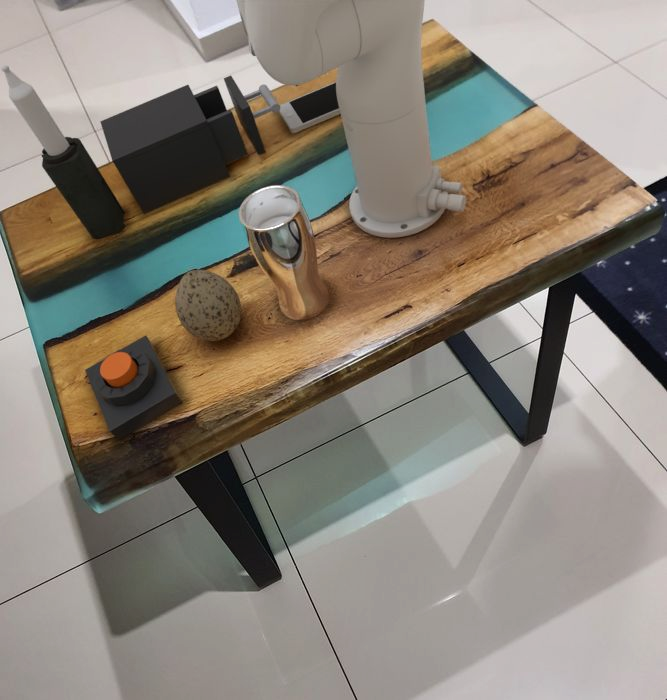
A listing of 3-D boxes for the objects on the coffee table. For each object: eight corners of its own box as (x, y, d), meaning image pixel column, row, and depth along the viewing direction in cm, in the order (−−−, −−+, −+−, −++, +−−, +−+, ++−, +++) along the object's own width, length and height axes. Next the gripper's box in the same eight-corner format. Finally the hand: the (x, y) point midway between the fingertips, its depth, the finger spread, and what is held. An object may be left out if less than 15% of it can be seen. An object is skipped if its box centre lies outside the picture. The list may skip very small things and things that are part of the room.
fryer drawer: (272, 110, 100) (258, 63, 94) (293, 141, 95) (278, 93, 89) (172, 152, 99) (151, 108, 93) (187, 186, 94) (165, 142, 87)
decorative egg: (237, 297, 80) (208, 240, 72) (259, 334, 76) (231, 278, 68) (185, 325, 79) (150, 270, 71) (205, 364, 75) (170, 311, 67)
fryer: (211, 139, 101) (188, 84, 93) (230, 176, 94) (206, 120, 87) (130, 174, 100) (100, 121, 92) (143, 214, 93) (112, 160, 86)
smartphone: (278, 110, 101) (276, 105, 101) (367, 73, 102) (366, 67, 101) (292, 134, 97) (290, 129, 96) (386, 95, 98) (385, 89, 97)
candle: (92, 218, 95) (-16, 60, 76) (124, 207, 95) (25, 47, 75) (91, 241, 92) (-21, 83, 72) (125, 230, 92) (22, 69, 72)
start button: (142, 376, 71) (135, 367, 70) (113, 393, 70) (105, 385, 69) (132, 355, 73) (125, 346, 72) (103, 371, 73) (95, 363, 71)
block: (183, 402, 72) (168, 383, 69) (119, 440, 71) (101, 423, 68) (153, 345, 78) (139, 325, 75) (93, 379, 77) (76, 361, 74)
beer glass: (309, 332, 74) (272, 240, 63) (265, 310, 78) (222, 218, 66) (344, 290, 77) (316, 194, 65) (300, 271, 80) (265, 176, 68)
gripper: (212, -22, 76) (258, 113, 91) (328, -69, 77) (355, 72, 92) (197, -44, 81) (243, 87, 95) (306, -88, 82) (335, 49, 96)
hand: (297, 79), depth 93 cm, fingers closed
